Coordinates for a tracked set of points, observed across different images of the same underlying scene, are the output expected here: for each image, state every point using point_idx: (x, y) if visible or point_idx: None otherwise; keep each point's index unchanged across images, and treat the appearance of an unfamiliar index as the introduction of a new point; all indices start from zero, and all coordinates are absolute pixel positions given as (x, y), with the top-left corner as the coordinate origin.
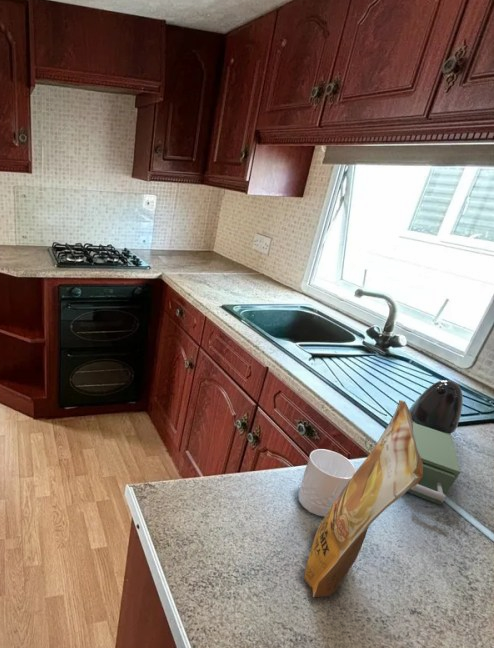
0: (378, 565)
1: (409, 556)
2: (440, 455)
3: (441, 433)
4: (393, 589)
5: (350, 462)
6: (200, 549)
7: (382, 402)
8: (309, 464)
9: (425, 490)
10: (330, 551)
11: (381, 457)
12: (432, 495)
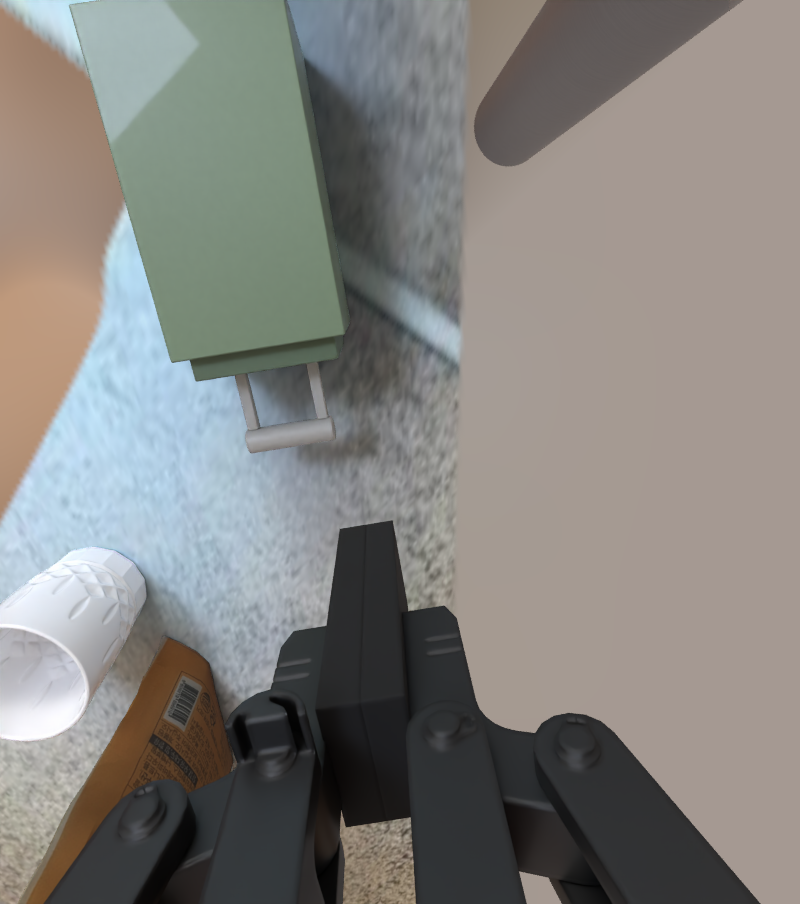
0: (274, 655)
1: (318, 586)
2: (268, 263)
3: (235, 2)
4: None
5: (48, 639)
6: (21, 847)
7: None
8: None
9: (281, 447)
10: None
11: None
12: (304, 444)
